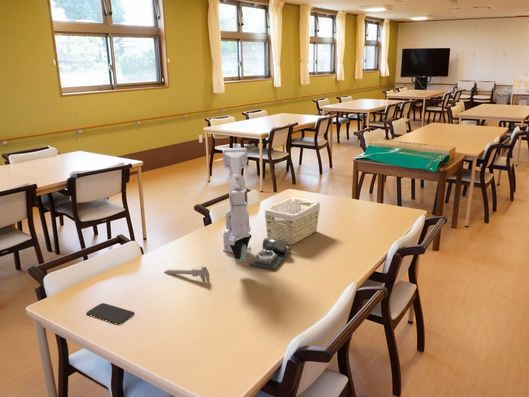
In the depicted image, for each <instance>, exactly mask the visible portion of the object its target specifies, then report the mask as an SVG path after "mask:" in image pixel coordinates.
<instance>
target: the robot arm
mask: <svg viewBox="0 0 529 397" xmlns="http://www.w3.org/2000/svg"><path fill="white" fill-rule="evenodd" d="M222 163H223V164H222V165H223V167H224V168H225V169H228V171H229V176H230V177H229V180H228V181H229V192H228V197H229V198H228V200H229V207H230V208H229V209H228V210H226V212H225V230H224V231H223V238H222V239H223V249H222V252H227V253H233V257H234V260H235V259H240V258H241V250H242V246H243V244H245V245H246V248H247V249H251V246H250V245H249V243H250V241H251V239H252V234H251V233H250V232H251V226H250V215H249V211H248V209H247V208H248V207H247V206H248V205H249V204H248V201H249V200H248V199H249V197H248V195H249V194H248V191H247V188H246V182H245V181H246V180H245V177H244V176H243V175H242V169H244V168H245V167H247V164H248V149H247V148H246V147H233V148H232V147H230V148H225V147H223V148H222Z"/></svg>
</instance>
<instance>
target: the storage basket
mask: <svg viewBox="0 0 529 397" xmlns="http://www.w3.org/2000/svg"><path fill="white" fill-rule="evenodd" d="M302 206H307V207H306V208H302ZM320 210H321V201H316V200H312V199H306V198H300V197H295V196H294V197H290V198H287V199H285V200H283V201H280V202H278V203H275V204H273V205H271V206H269V207H266V208H265V210H264V217H265V219H264V220H265V227H266V238H269V239H276V240H283V241H287V245H290V246H291V245H295V244H297V243H298V242H300V241H302V240H304V239H305V238H308V237H309V236H311V235H312V234H314V233H315V232H317V230H318V222H319V214H320Z"/></svg>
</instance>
